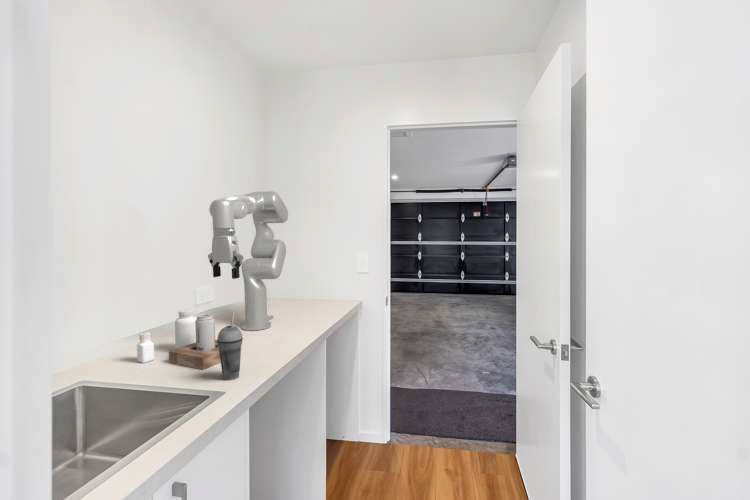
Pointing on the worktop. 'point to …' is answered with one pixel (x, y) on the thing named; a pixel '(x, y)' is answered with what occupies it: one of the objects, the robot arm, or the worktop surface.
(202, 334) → the energy drink can
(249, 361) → the worktop surface
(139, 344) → the pepper shaker
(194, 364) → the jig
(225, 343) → the beverage cup
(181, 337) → the pill bottle
